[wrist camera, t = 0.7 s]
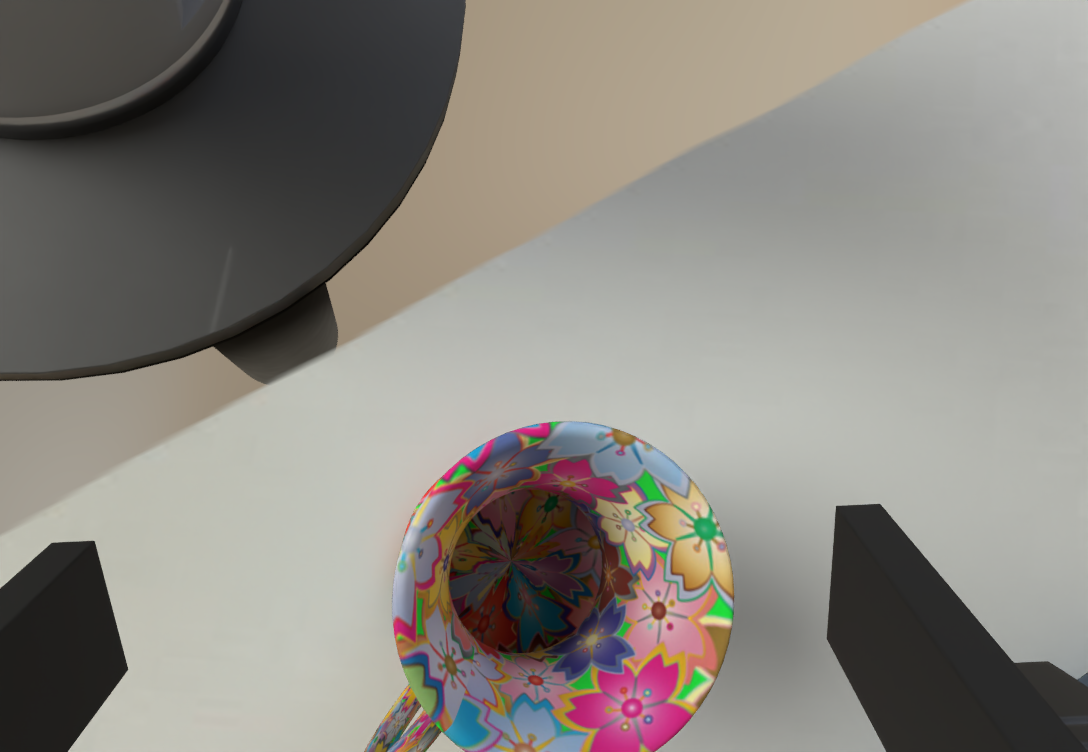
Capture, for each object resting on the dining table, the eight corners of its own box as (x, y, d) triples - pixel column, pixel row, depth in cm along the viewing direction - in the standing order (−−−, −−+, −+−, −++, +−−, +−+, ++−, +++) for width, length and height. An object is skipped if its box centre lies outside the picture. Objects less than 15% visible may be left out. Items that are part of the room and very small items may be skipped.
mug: (512, 393, 32) (573, 350, 22) (668, 558, 33) (800, 593, 22) (280, 615, 30) (226, 685, 19) (454, 792, 30) (493, 955, 20)
